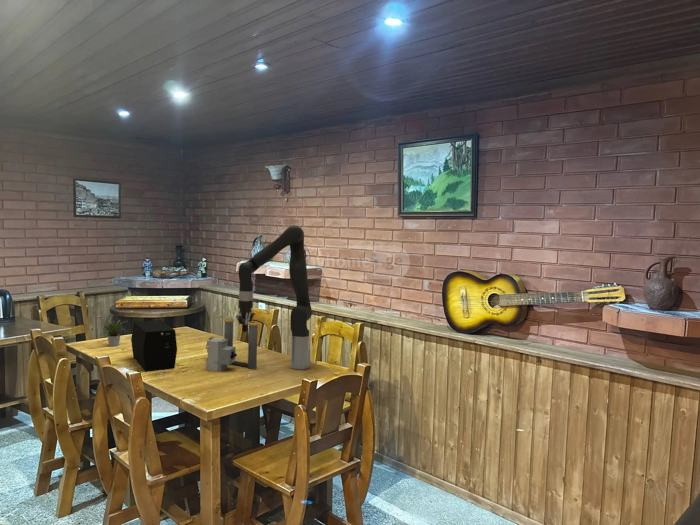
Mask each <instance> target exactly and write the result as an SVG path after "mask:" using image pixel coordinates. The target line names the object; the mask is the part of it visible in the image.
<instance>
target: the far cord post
mask: <svg viewBox="0 0 700 525" xmlns="http://www.w3.org/2000/svg"><path fill="white" fill-rule="evenodd" d="M223 322H224V338H223V339H228V346H231V347H234V346H233V345H234V322H235V318H233V317H231V318H224V319H223ZM230 365H233V364H232V363H231V364H230Z"/></svg>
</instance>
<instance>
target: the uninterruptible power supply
mask: <svg viewBox="0 0 700 525" xmlns="http://www.w3.org/2000/svg"><path fill="white" fill-rule="evenodd" d="M130 341H131V342H130V343H131V349H132V356H133V357H132V358H133V359H134V360H135V361H136V363H137V364H138V365H139V366H140V367H141V369H142V370H143V371H144V373H147V372H157V371H167V370H174V369H176V361H177V353H178V343H177V334H176V329H175V328H173V327H171V326H170V325H168V324H167V323H166V322H164V321H163V320H161V319H156V320H145V321H143V320H142V321H140V320H139V321H133V325H132V331H131V338H130Z"/></svg>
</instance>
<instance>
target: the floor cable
mask: <svg viewBox="0 0 700 525" xmlns="http://www.w3.org/2000/svg"><path fill="white" fill-rule="evenodd" d="M231 365H234V366H239V367H247V368H248V362H243V361H237V360H235V362H233V363H232V364H231Z"/></svg>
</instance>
